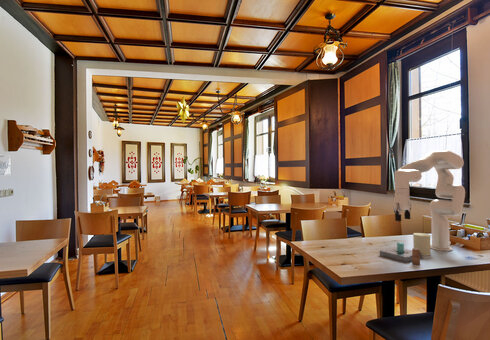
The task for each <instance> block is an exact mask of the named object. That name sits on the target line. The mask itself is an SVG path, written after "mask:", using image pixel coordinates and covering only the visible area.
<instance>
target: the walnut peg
mask: <svg viewBox="0 0 490 340" xmlns="http://www.w3.org/2000/svg"><path fill="white" fill-rule="evenodd" d="M411 250H412V261H411V263H412V265H415V266H420V265H421V258H420V249H416V248H414V247H413V248H412V249H411Z"/></svg>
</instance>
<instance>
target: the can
mask: <svg viewBox="0 0 490 340" xmlns="http://www.w3.org/2000/svg"><path fill="white" fill-rule="evenodd" d="M412 234H413V235H412V237H413V245H412V246H413V248H416V249H420V252H421V253H422V256H431V248H430V245H431V237H432V234H428V233H423V232H413V233H412Z"/></svg>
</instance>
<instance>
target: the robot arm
mask: <svg viewBox="0 0 490 340" xmlns="http://www.w3.org/2000/svg"><path fill="white" fill-rule="evenodd" d="M464 164H465V163H464V158H462V156H461V155H459V154H457V153H455V152H453V151H452V150H451V151H450V150H446V149H444V150H431V151H429V152H427V153H426V154H424V155H423V156H422V157H421V158H420V159H418V160H415V161H412V162H410V163H407V164H405V165H403V166H401V167H400V168H399V169H397V170H395V171H394V196H393V197H394V199H393V207H392V208H393V213H394V215H395V216H394V217H395V221H396V222H402V214H401V213H402V212H404V219H405V220H411V211H412V210H411V209H412V204H411V197H410V183H418V182H419V181H420V180H421V179H422V177H423V176H422V174H423V173H426V172H428V171H430V170H431V169H433V168H434V169H435V171H436V173H437V182H436V187H435V196H436V197H437V198H440V199H433V200H432V201H431V202H430V203H429V210H430V217H431V243H430V250H431V249H432V250H436V251H442V252H450V251H453V247H451V246H450V245H451V243H452V241H450V221H449V220H450V219H449V218H448V217H447V216H450V217H458V216H460V215H461V214H462V212H463V209H464V203H465V199H466V198H465V197H466V190H465V187H464V186H463V185H462V184H460V183H459V184H457V183H454V180H455V179H454V177H455V176H454V175H453V173H452V172H451V171H450V170H460V169H462V168H463V167H464ZM449 199H450V200H449Z"/></svg>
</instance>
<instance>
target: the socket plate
mask: <svg viewBox="0 0 490 340" xmlns="http://www.w3.org/2000/svg"><path fill="white" fill-rule="evenodd" d="M379 257H383V258H387V259H391V260H395V261H398V262H403V263H406V264H407V263H410V262H411V263H412V249H407V248H404V253H399V252H397V246H392V247H388V248H385V249H381V250H379ZM422 258H423V255H422V253H421V252H420V259H422Z"/></svg>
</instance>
